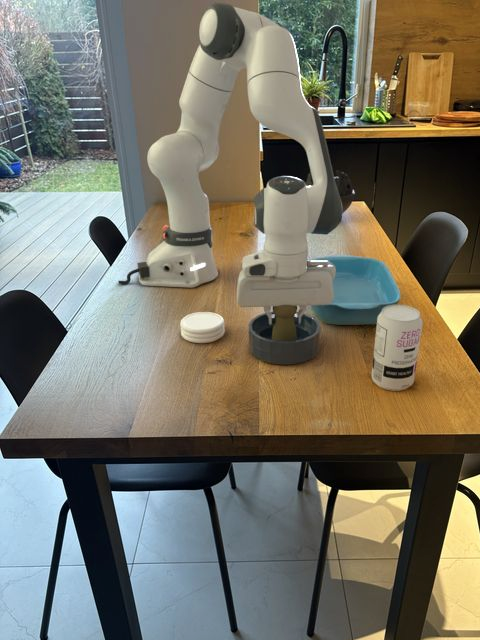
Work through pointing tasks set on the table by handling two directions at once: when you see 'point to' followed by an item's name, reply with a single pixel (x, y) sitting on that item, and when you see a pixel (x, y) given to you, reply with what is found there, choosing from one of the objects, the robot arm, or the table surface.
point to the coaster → (202, 327)
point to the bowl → (284, 350)
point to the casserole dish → (358, 291)
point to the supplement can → (396, 347)
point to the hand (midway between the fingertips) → (284, 323)
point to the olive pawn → (284, 323)
